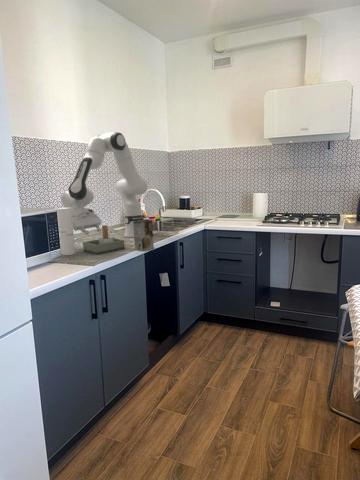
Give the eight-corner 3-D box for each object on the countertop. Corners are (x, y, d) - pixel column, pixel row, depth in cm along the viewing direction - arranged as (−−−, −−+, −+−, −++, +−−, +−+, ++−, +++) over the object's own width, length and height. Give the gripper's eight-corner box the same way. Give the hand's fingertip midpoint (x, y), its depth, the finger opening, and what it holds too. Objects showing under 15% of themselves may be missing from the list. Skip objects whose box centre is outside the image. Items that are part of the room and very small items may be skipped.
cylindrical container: (63, 252, 201) (59, 207, 196) (76, 251, 201) (72, 207, 197) (60, 255, 194) (55, 209, 189) (73, 254, 194) (69, 208, 190)
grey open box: (110, 245, 216) (109, 234, 214) (124, 248, 205) (123, 236, 204) (83, 250, 204) (82, 238, 202) (96, 254, 193) (95, 241, 192)
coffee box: (145, 247, 207) (144, 219, 204) (154, 248, 203) (152, 220, 200) (134, 250, 200) (132, 221, 198) (142, 251, 196) (140, 222, 194)
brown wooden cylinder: (107, 247, 204) (105, 225, 202) (110, 248, 202) (108, 225, 200) (102, 248, 202) (101, 225, 200) (105, 249, 200) (103, 226, 198)
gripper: (68, 213, 198) (82, 231, 195) (95, 209, 215) (108, 226, 212) (63, 220, 201) (77, 239, 198) (90, 216, 219) (103, 233, 215)
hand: (93, 232), depth 205 cm, fingers open, 8 cm apart
